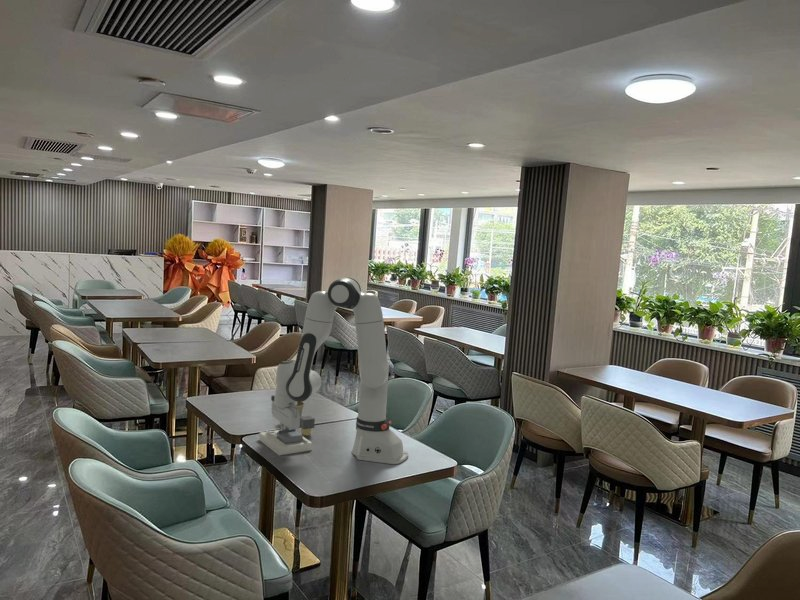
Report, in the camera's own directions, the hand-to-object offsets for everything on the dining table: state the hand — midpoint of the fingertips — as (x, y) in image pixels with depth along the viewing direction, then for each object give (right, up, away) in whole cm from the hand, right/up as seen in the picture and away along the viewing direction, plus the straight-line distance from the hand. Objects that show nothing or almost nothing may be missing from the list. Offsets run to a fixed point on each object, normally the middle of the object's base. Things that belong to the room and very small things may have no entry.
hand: (284, 433), depth 236 cm
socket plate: (0, -4, -1) cm, 4 cm away
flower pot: (-2, -2, +31) cm, 31 cm away
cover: (+3, -1, -4) cm, 5 cm away
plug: (+6, -3, +14) cm, 16 cm away
